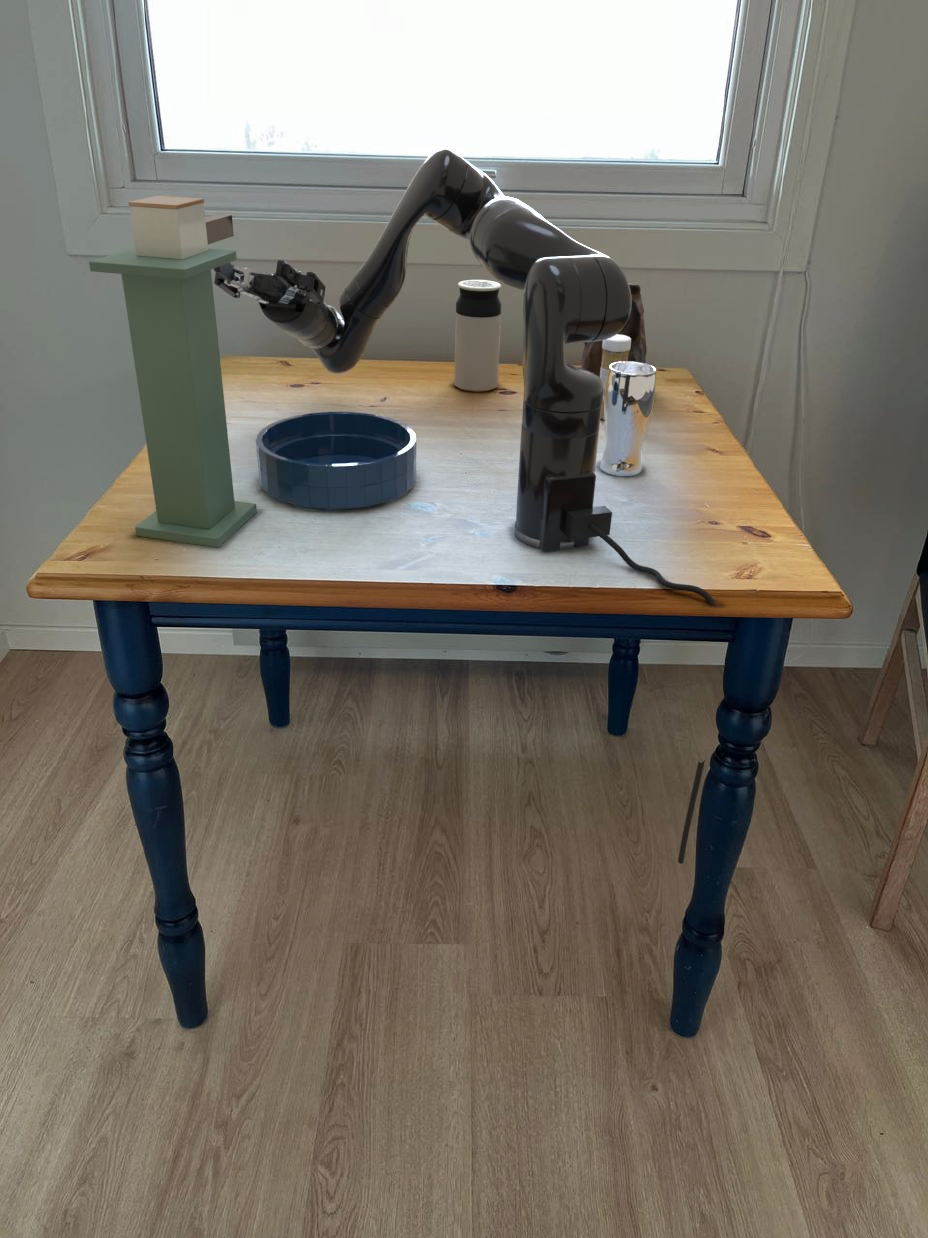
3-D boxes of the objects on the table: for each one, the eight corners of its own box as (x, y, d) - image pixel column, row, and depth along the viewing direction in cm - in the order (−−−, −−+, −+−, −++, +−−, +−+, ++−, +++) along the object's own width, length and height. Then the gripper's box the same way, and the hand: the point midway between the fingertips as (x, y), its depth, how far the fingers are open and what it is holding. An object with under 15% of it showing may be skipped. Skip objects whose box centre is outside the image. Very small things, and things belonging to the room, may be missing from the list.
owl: (638, 406, 166) (653, 287, 156) (567, 398, 168) (577, 281, 158) (646, 386, 176) (660, 274, 166) (579, 379, 179) (589, 268, 169)
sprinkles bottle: (627, 418, 160) (637, 338, 153) (607, 423, 158) (616, 341, 151) (609, 411, 163) (618, 331, 156) (589, 415, 161) (597, 334, 154)
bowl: (435, 503, 127) (436, 457, 124) (273, 521, 121) (270, 473, 118) (392, 448, 145) (392, 406, 141) (249, 461, 138) (245, 418, 135)
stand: (182, 500, 126) (148, 243, 109) (258, 510, 124) (236, 250, 107) (133, 537, 116) (88, 261, 99) (216, 549, 113) (184, 269, 97)
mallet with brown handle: (206, 233, 116) (201, 185, 114) (248, 237, 115) (244, 188, 113) (135, 255, 103) (128, 201, 100) (182, 259, 102) (176, 205, 99)
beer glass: (616, 456, 144) (627, 358, 137) (653, 469, 140) (668, 368, 132) (587, 467, 140) (597, 366, 132) (625, 481, 136) (638, 377, 128)
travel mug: (474, 395, 169) (477, 290, 160) (445, 384, 174) (447, 282, 165) (506, 387, 173) (511, 285, 164) (477, 377, 178) (481, 277, 169)
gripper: (253, 277, 140) (202, 231, 124) (344, 284, 137) (304, 239, 121) (246, 328, 140) (194, 289, 124) (337, 336, 137) (296, 297, 121)
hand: (248, 264), depth 122 cm, fingers open, 8 cm apart
